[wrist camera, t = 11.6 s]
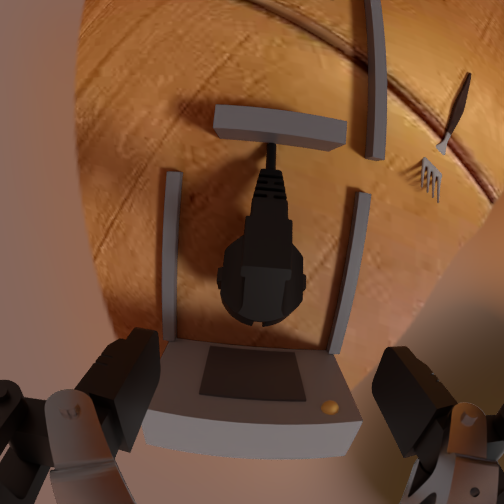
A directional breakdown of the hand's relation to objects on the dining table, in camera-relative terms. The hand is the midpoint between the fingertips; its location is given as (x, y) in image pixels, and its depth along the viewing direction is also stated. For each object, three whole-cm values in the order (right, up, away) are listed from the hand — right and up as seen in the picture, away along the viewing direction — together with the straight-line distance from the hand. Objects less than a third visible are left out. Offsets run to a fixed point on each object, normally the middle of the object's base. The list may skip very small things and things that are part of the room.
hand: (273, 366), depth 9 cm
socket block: (0, +1, +13) cm, 13 cm away
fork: (+17, +15, +10) cm, 25 cm away
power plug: (0, +6, +12) cm, 13 cm away
